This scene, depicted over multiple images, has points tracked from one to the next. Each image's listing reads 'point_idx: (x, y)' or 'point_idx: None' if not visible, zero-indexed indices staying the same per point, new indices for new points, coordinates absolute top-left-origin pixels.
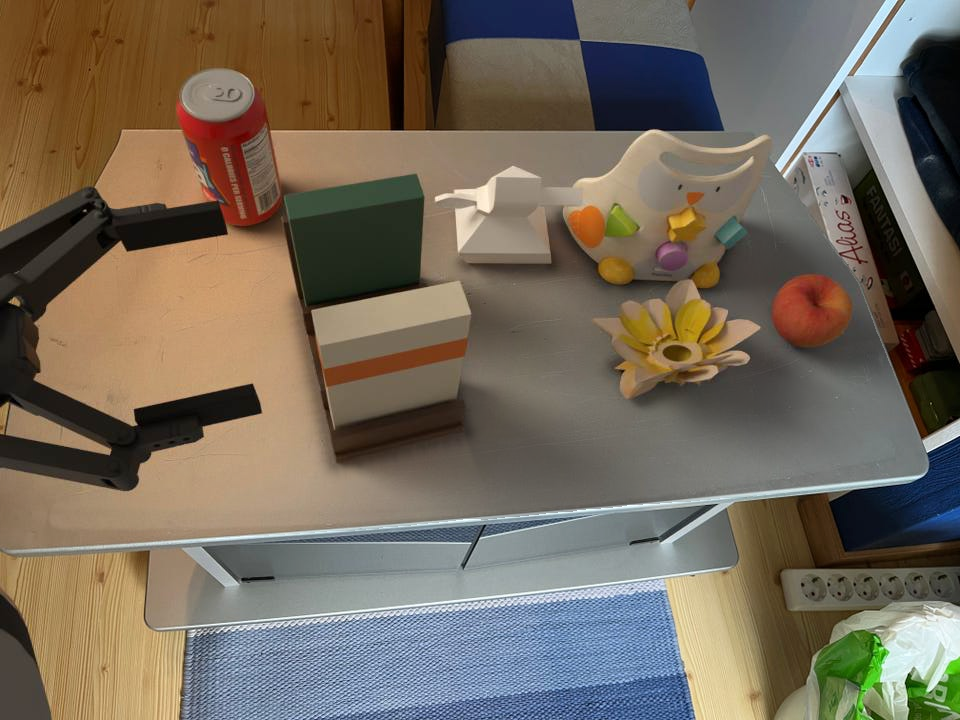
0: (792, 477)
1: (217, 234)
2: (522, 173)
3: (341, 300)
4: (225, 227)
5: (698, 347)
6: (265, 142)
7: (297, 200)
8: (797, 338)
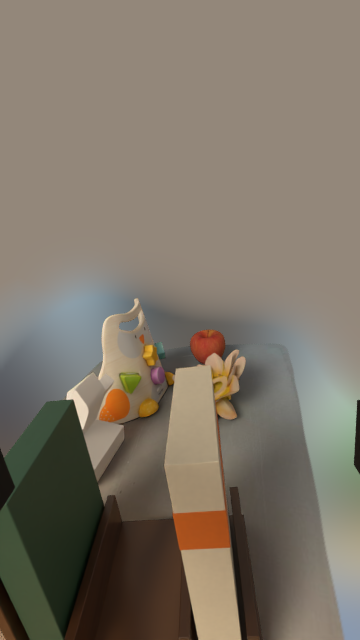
0: (289, 373)
1: (4, 498)
2: (80, 382)
3: (82, 582)
4: (9, 472)
5: (215, 379)
6: None
7: None
8: (220, 351)
